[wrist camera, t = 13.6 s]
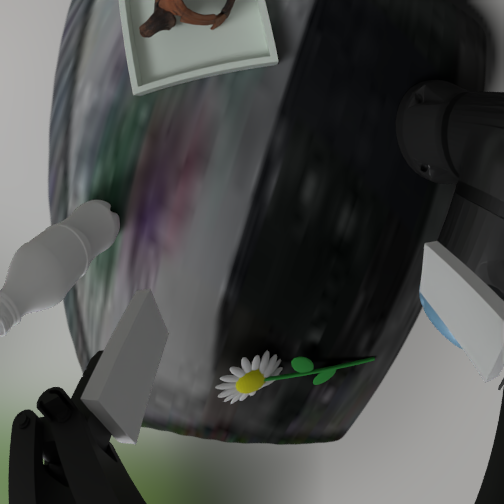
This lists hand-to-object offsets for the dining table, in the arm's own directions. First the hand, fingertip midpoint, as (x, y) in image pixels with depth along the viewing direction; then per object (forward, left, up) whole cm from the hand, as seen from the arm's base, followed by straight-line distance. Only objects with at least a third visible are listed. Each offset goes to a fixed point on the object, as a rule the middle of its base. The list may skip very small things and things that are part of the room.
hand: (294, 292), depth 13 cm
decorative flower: (-1, +34, -27) cm, 44 cm away
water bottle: (+24, +1, -27) cm, 36 cm away
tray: (+5, -23, -27) cm, 36 cm away
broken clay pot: (+6, -24, -26) cm, 36 cm away
